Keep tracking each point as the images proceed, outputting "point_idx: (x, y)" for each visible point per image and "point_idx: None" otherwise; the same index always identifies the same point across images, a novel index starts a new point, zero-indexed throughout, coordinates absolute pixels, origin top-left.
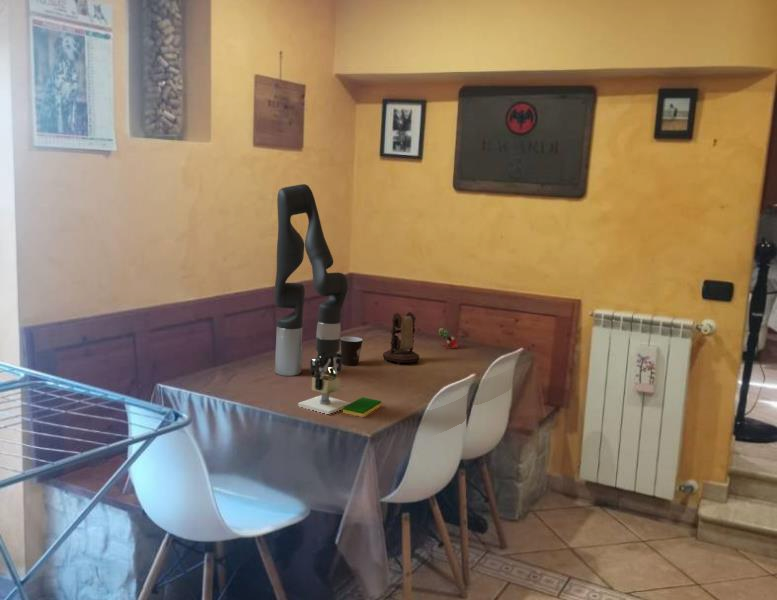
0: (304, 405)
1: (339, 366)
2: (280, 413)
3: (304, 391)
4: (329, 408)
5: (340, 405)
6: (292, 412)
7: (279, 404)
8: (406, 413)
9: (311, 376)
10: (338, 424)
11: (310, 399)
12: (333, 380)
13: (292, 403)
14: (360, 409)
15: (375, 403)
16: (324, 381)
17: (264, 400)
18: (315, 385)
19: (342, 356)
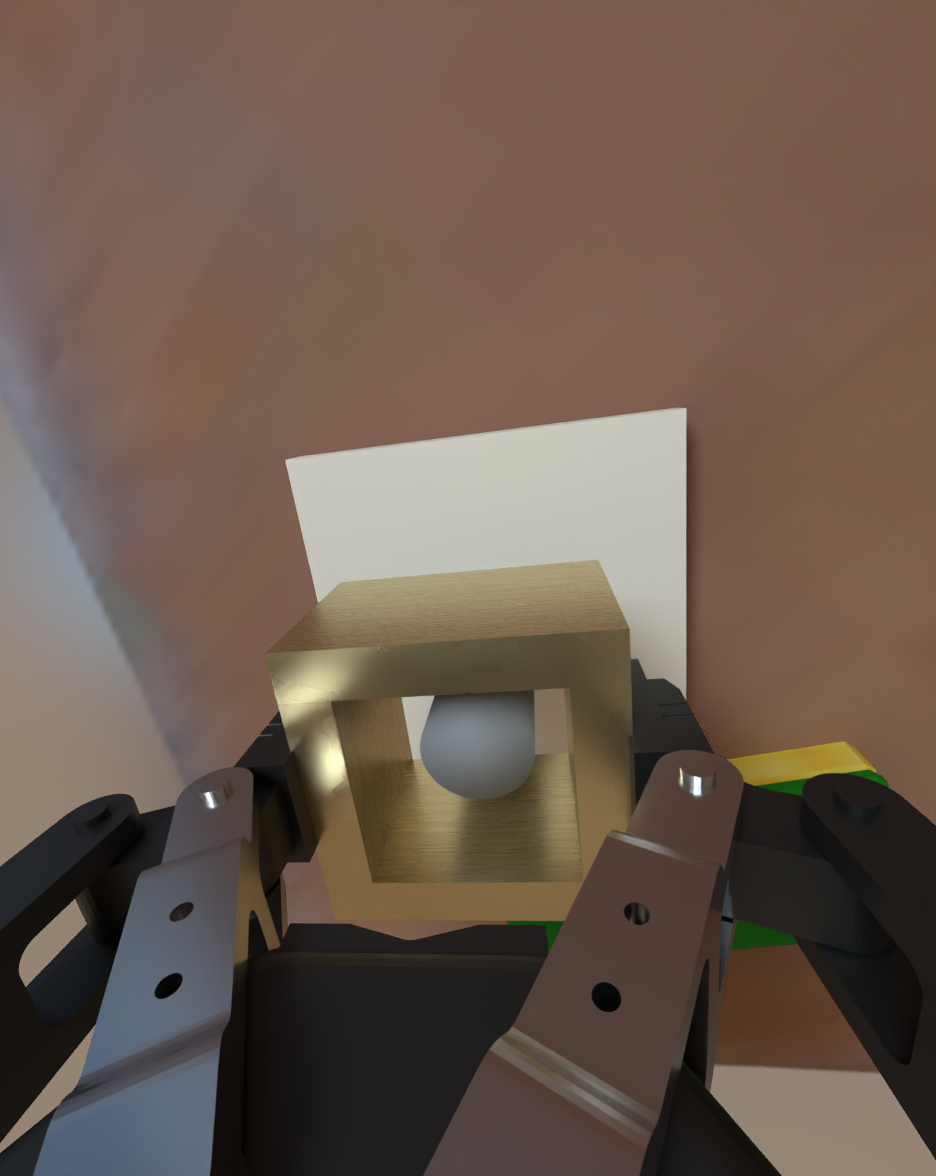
0: (307, 536)
1: (864, 1023)
2: (73, 496)
3: (770, 11)
4: (417, 739)
5: (552, 750)
6: (172, 541)
7: (188, 279)
8: (839, 1053)
9: (95, 804)
10: (302, 893)
11: (463, 453)
12: (473, 912)
13: (317, 340)
14: (550, 938)
15: (783, 938)
16: (325, 865)
17: (115, 31)
18: (274, 722)
19: None
